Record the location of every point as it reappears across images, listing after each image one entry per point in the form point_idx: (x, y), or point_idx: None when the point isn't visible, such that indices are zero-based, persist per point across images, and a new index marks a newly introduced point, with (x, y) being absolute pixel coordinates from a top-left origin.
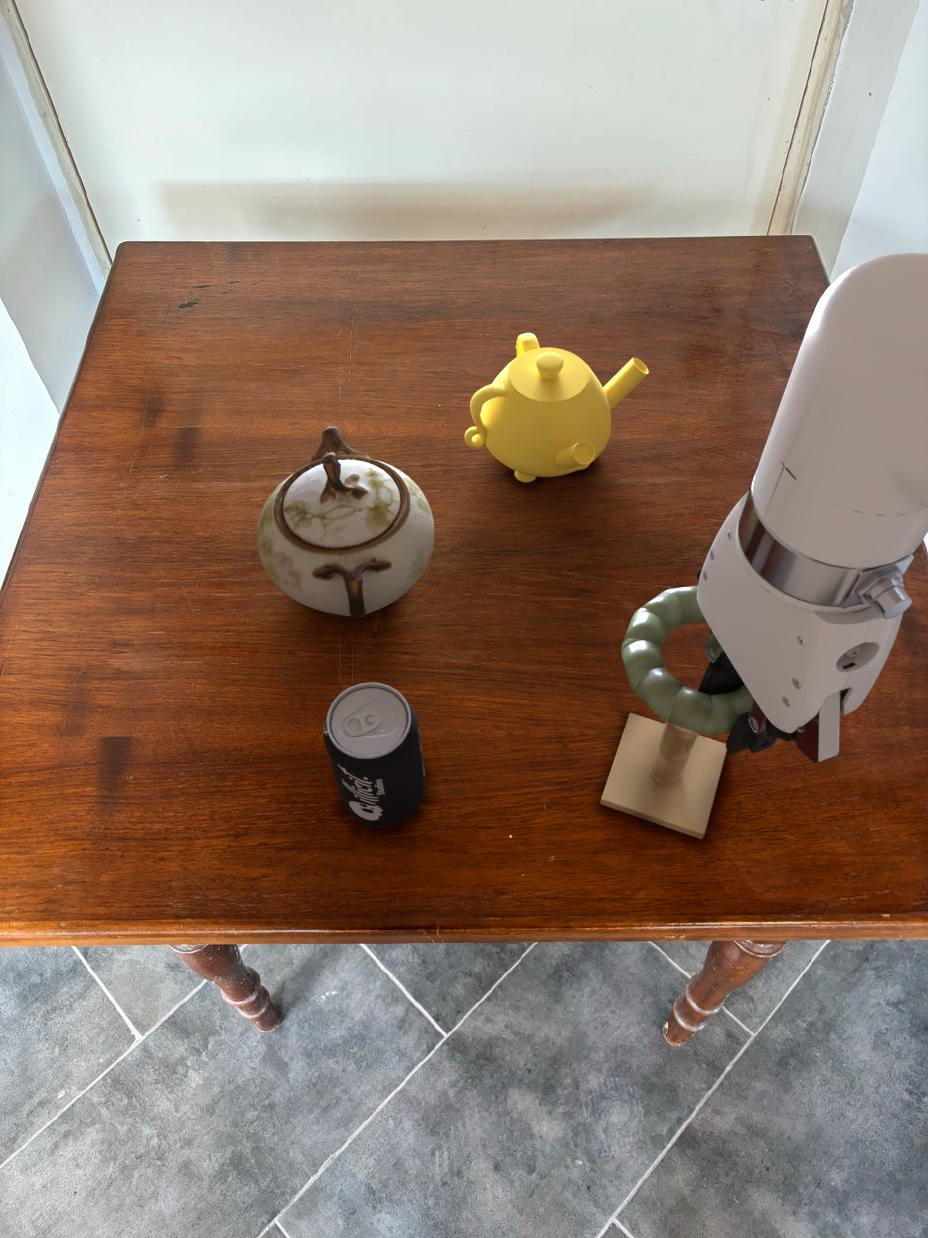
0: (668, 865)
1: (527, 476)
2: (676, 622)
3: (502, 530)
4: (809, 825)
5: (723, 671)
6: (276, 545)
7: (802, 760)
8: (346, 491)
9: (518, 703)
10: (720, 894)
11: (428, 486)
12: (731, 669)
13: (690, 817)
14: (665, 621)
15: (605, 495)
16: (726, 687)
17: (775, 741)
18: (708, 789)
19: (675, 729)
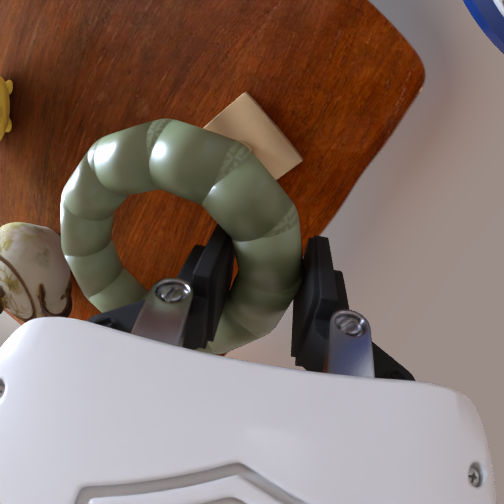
0: (305, 191)
1: (8, 126)
2: (106, 265)
3: (33, 156)
4: (339, 78)
5: (211, 334)
6: None
7: (288, 42)
8: (2, 303)
9: (144, 211)
10: (344, 174)
11: (7, 185)
12: (212, 323)
13: (285, 160)
14: (103, 286)
15: (29, 77)
16: (227, 277)
17: (342, 275)
18: (272, 132)
19: None
